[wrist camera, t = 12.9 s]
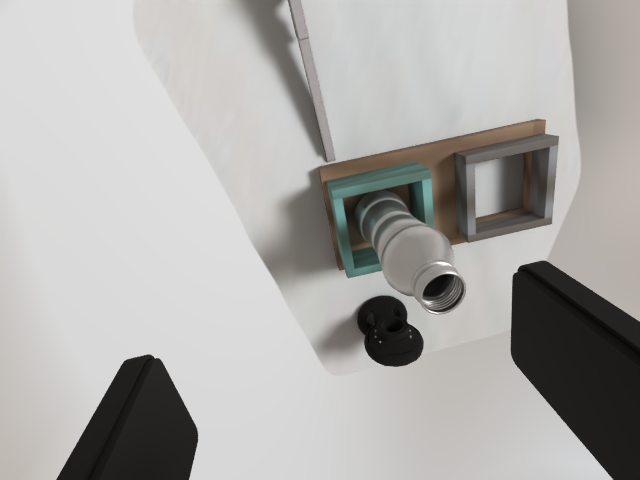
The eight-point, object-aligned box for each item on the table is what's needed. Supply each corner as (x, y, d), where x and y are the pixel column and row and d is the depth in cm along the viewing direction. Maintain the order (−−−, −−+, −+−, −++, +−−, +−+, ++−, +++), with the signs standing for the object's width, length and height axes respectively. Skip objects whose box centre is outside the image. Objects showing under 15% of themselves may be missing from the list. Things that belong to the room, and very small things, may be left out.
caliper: (276, -35, 35) (275, -60, 29) (286, -39, 35) (287, -64, 29) (327, 162, 43) (334, 172, 38) (335, 159, 43) (344, 169, 38)
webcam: (405, 290, 52) (432, 333, 42) (407, 331, 54) (432, 379, 45) (353, 298, 51) (369, 344, 42) (358, 339, 54) (373, 390, 45)
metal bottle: (346, 233, 45) (392, 329, 27) (355, 182, 43) (413, 249, 24) (393, 237, 46) (469, 333, 28) (405, 188, 44) (497, 257, 25)
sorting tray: (318, 166, 43) (324, 178, 37) (537, 119, 44) (578, 123, 38) (337, 265, 49) (345, 289, 43) (531, 221, 49) (566, 239, 43)
